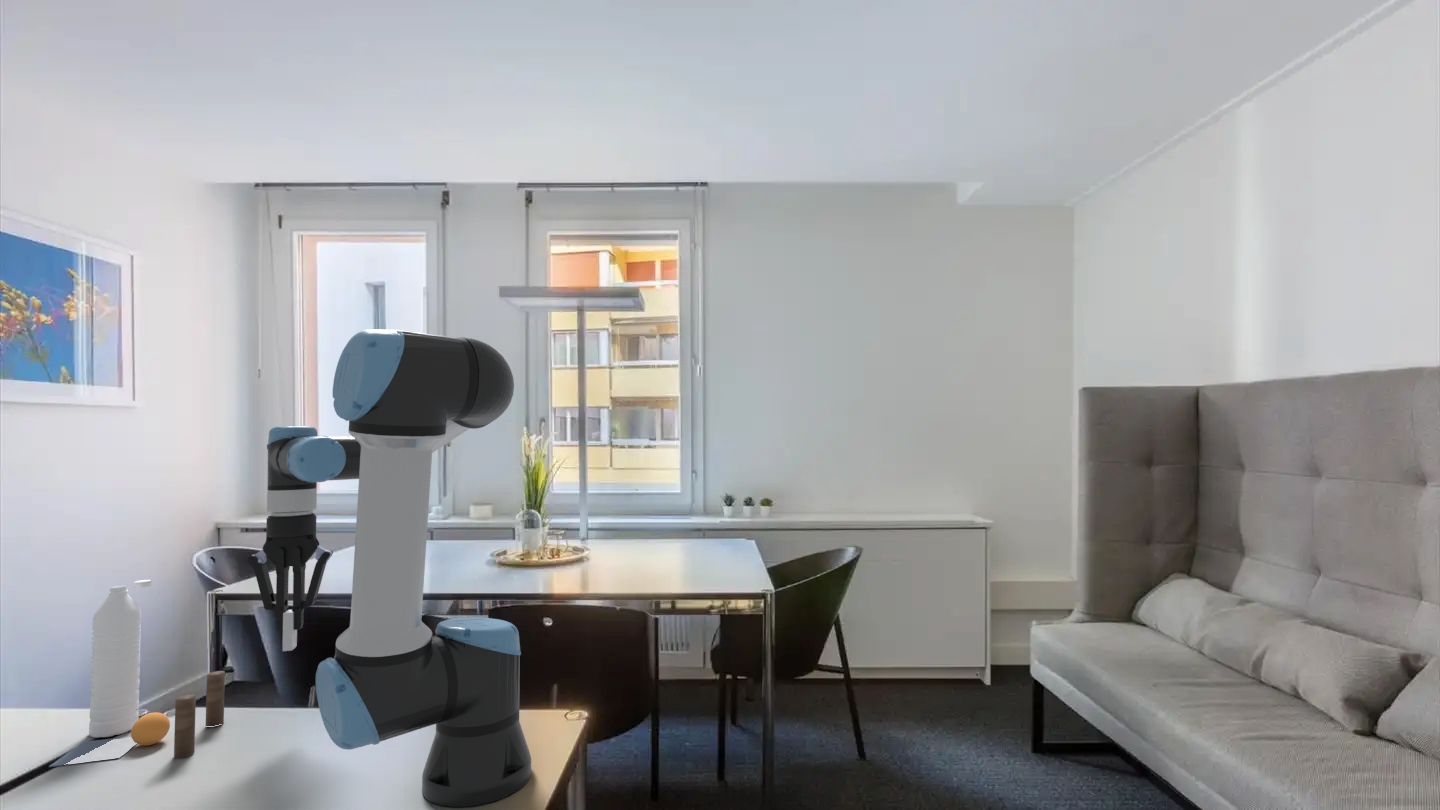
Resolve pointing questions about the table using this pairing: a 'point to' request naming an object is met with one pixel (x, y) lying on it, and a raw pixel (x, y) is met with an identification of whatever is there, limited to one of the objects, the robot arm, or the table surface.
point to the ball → (150, 728)
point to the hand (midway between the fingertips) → (289, 648)
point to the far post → (215, 698)
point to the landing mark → (79, 751)
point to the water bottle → (115, 663)
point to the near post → (184, 726)
